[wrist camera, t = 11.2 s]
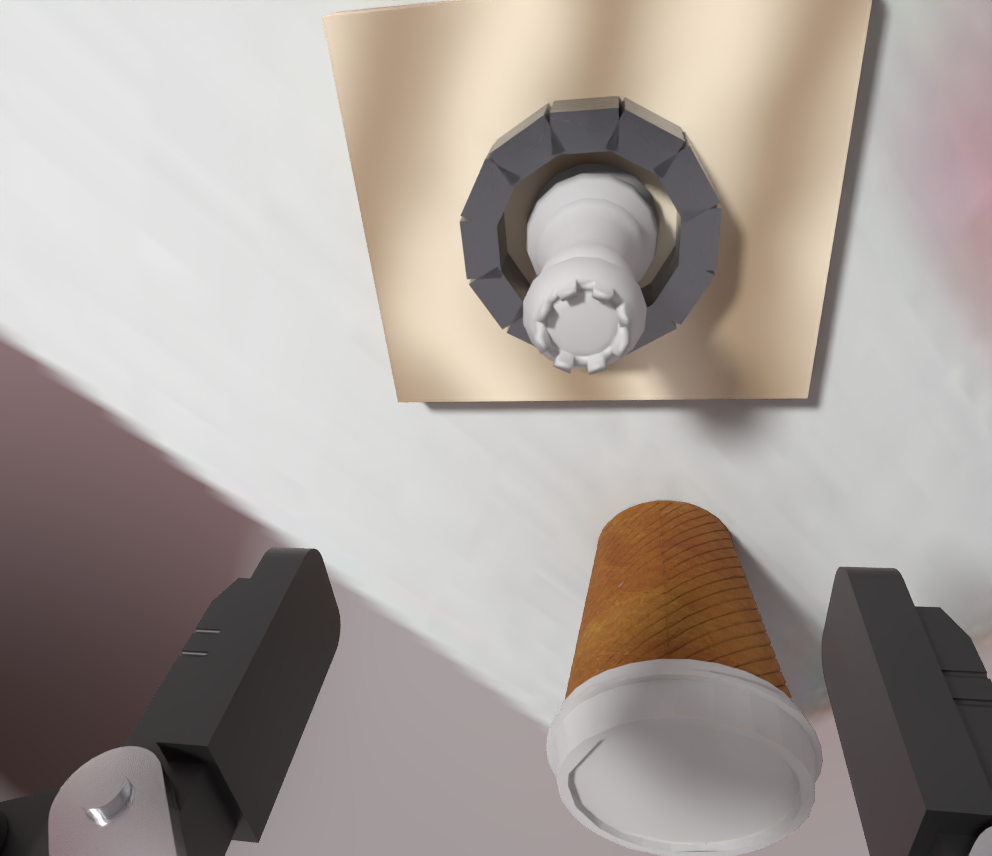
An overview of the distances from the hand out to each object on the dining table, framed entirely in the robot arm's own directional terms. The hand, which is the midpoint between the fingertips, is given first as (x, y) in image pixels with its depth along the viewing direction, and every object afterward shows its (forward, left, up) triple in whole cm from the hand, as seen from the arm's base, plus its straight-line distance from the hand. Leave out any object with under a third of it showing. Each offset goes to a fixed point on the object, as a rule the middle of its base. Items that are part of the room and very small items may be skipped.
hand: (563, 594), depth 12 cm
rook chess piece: (0, 0, -17) cm, 17 cm away
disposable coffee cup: (-3, +16, -19) cm, 25 cm away
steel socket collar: (0, 0, -17) cm, 17 cm away
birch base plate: (0, 0, -18) cm, 18 cm away
